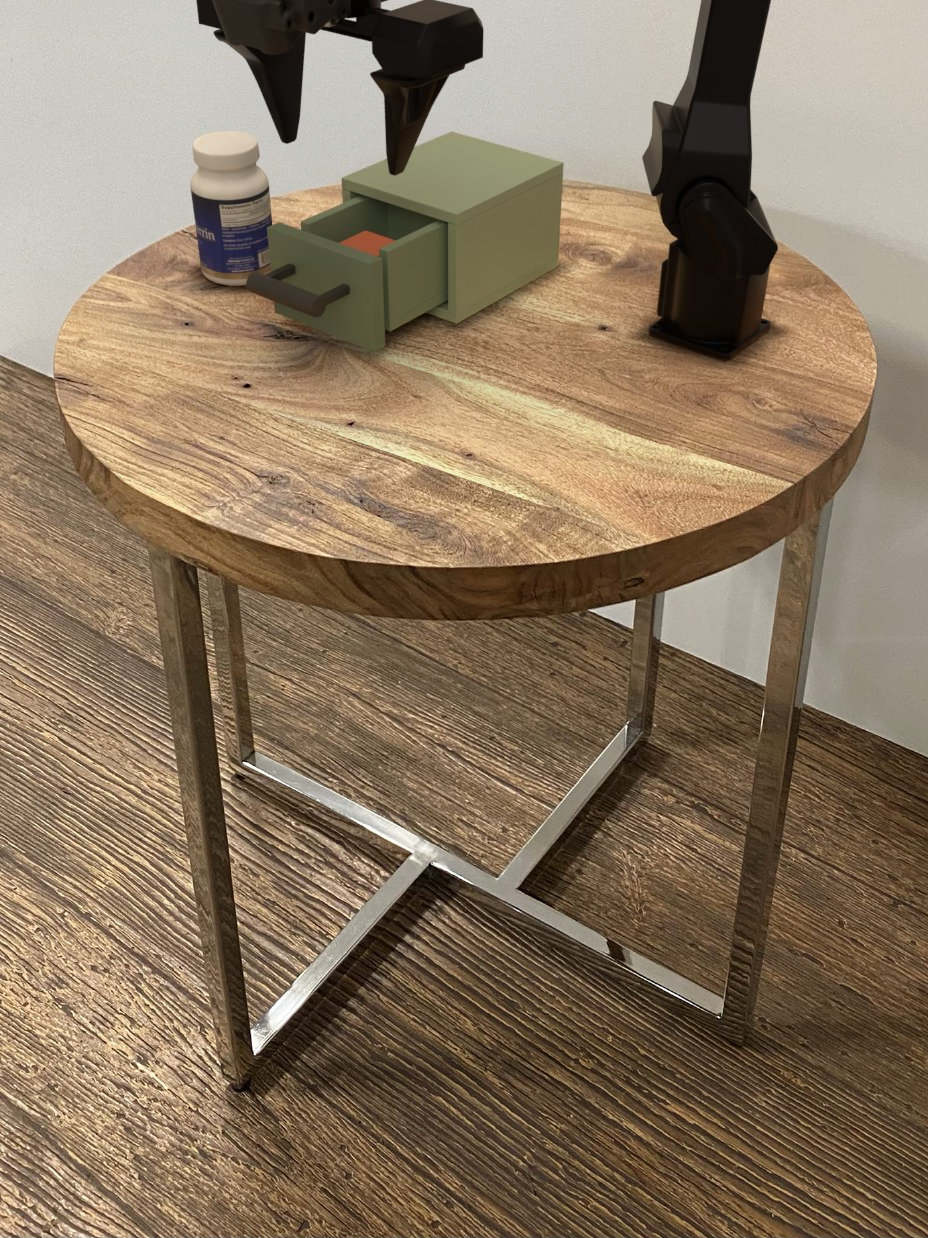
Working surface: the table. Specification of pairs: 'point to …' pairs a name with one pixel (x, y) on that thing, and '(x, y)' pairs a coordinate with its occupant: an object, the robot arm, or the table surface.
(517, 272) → the cabinet
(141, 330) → the table surface
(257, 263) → the pill bottle
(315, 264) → the drawer
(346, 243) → the block
